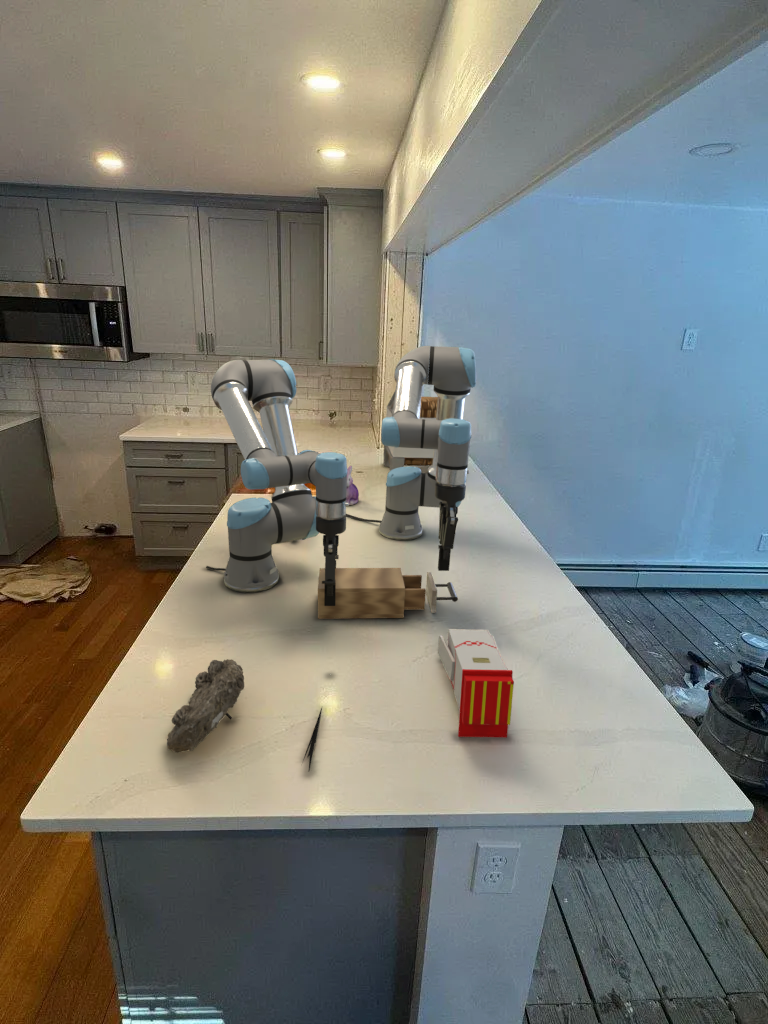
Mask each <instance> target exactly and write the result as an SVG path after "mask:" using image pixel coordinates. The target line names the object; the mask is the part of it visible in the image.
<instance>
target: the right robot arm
mask: <svg viewBox="0 0 768 1024" xmlns="http://www.w3.org/2000/svg"><path fill="white" fill-rule="evenodd" d="M476 365H477V364H476V353H475V351H474V350H473V349H471V348H467V347H461V346H437V345H436V346H435V345H433V346H430V345H421V346H418V347H416V348H413V349H411V350H410V351H408V352H407V353H405V354H404V355H403V356H402V357H401V358H400V359H399V361H398V362H397V364H396V366H395V369H394V374H393V375H394V382H395V390H394V392H395V397H394V403H393V410H392V417H386V416H385V417H384V418H382V420H381V421H382V422H381V431H380V433H381V434H380V441H381V445H383V446H384V445H385V446H392V447H396V448H398V447H403V448H423V449H434V452H433V464H432V465H430V466H428V468H427V472H422V469H421V468H420V467H419V466H418V467H417V466H404V467H399V468H395V469H393V470H391V471H390V470H389V471H388V473H387V475H386V482H385V487H386V488H385V489H386V490H385V504H384V505H385V507H384V508H385V509H384V513H383V515H382V519H381V520H379V519H369V518H362V517H359V516H358V517H357V516H356V515H355V516H354V515H352V514H349V513H346V515H345V516H346V517H348V518H351V519H354V520H357V521H362V522H366V523H377V524H378V523H379V526H378V533H379V534H380V535H381V536H382V537H385V538H387V539H389V540H395V541H410V540H415V539H418V538H420V537H421V536H422V535H423V525H422V524H421V518H420V515H419V507H425V508H437V509H439V514H438V515H439V516H438V517H439V519H438V538H437V539H438V540H439V544H438V546H437V547H438V562H437V570H438V571H439V572H449V571H450V566H451V565H450V564H451V552H452V551H451V550H454V546H455V545H454V544H455V539H456V531H457V525H458V523H459V518H458V517H457V515H458V511H459V507H460V505H461V504H462V502H463V501H464V500H465V498H466V489H467V485H466V483H467V477H468V476H467V475H469V474H470V470H469V469H468V466H469V464H468V463H469V458H470V457H469V456H470V455H469V454H470V447H471V438H472V423H471V422H470V421H468V420H466V419H464V412H465V411H464V409H465V400H466V398H467V397H468V396H469V395H470V394H471V389H473V388H475V387H477V366H476ZM424 385H429V386H433V390H432V391H433V393H435V395H436V397H438V400H437V413H436V420H427V419H419V416H420V404H421V397H422V391H423V386H424ZM463 419H464V420H463ZM274 493H275V492H272V493H271V494H272V496H273V494H274Z"/></svg>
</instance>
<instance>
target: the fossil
mask: <svg viewBox="0 0 768 1024" xmlns="http://www.w3.org/2000/svg"><path fill="white" fill-rule="evenodd" d="M243 670H244V669H243V667H242V665H240V664H237V662H236V661H235V660H234V659H232V658H231V659H227V658H226V659H224V660H223V661H222V660H217V659H212V660H211V661H210V663H209V665H208V666H207V671H201V672H199V673H198V674H197V675H196V676H195V680H194V684H195V685H194V687H195V689H194V690H193V693H192V694H191V697H190V698H189V700H188V704H184V705H182V706H181V707H180V709H177V710H176V711H175V713H174V715H173V716H172V718H171V723H172V724H173V727H172V730H171V731H170V732H168V734H167V738H166V741H167V742H166V745H167V749H168V750H169V751H173V752H174V753H176V754H178V753H182V752H188V751H189V752H192V751H193V750H195V748H196V747H197V746H199V744H200V743H201V742H203V741H204V740H205V739H206V738H207V737H208V736H209V735H210V734H211V733H212V732H214V730H215V729H217V727H218V726H219V724H220V722H221V721H222V720H223V719H224V718H225V716H226V717H227V719H229V720H233V717H232V715H230V714H229V710H230V709H231V708H234V706H235V704H236V703H237V702H238V699H239V697H240V695H241V693H242V691H243V690H245V689H244V688H245V675H244V671H243Z"/></svg>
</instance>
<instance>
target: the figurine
mask: <svg viewBox="0 0 768 1024" xmlns="http://www.w3.org/2000/svg"><path fill="white" fill-rule="evenodd" d="M347 470H348V472H347V493H346V503H348V504H349V506H353V505H355V504H358V502H359V496H360V492H359V489H358V487H357V485H356V484H354V479H353V477H352V471H353V466H352V465H349V466H348V467H347Z"/></svg>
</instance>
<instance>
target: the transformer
mask: <svg viewBox="0 0 768 1024" xmlns="http://www.w3.org/2000/svg"><path fill="white" fill-rule="evenodd" d="M394 397H395V391H394V392H393V394H392V395H391V398H390V400H389V402H388V404H387V405H386V413H385V414H386V415H385V418H386V417H392V410H393V403H394ZM437 400H438V396H421V404H420V416H419V419H427V420H436V413H437ZM463 420H465V419H464V418H463ZM433 452H434V449H423V448H403V447H398V448H396V447H392V446H385V445H383V466H384V467H388V468H389V472H390V471H391V470H393V469H395V468H399V467H405V466H406V467H408V466H411V467H417V466H418V467H430V466H431V465H432V464H433Z"/></svg>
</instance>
